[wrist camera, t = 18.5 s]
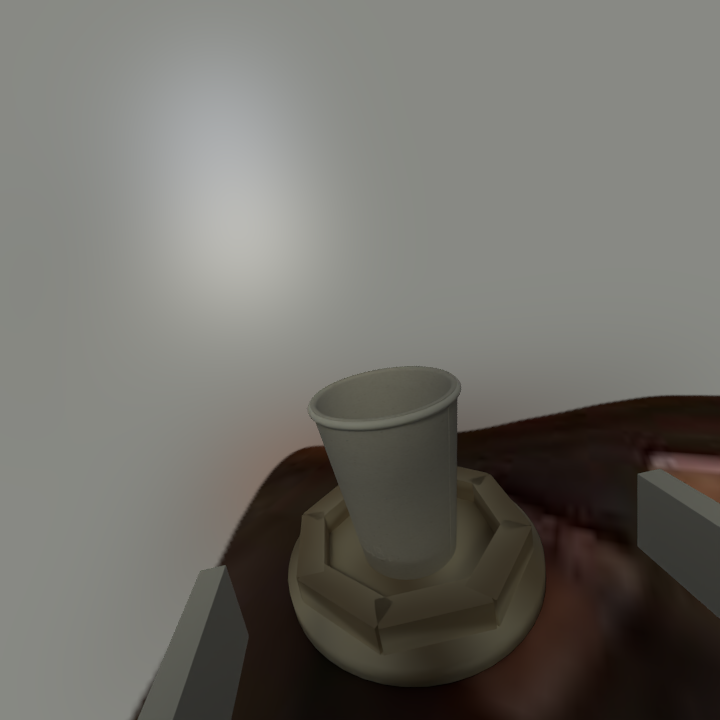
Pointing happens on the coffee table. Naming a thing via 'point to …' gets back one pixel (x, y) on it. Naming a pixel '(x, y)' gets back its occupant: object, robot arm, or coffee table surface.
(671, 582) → the coffee table surface
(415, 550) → the dixie cup
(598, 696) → the coffee table surface
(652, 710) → the coffee table surface
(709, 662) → the coffee table surface
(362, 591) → the rimmed coaster
